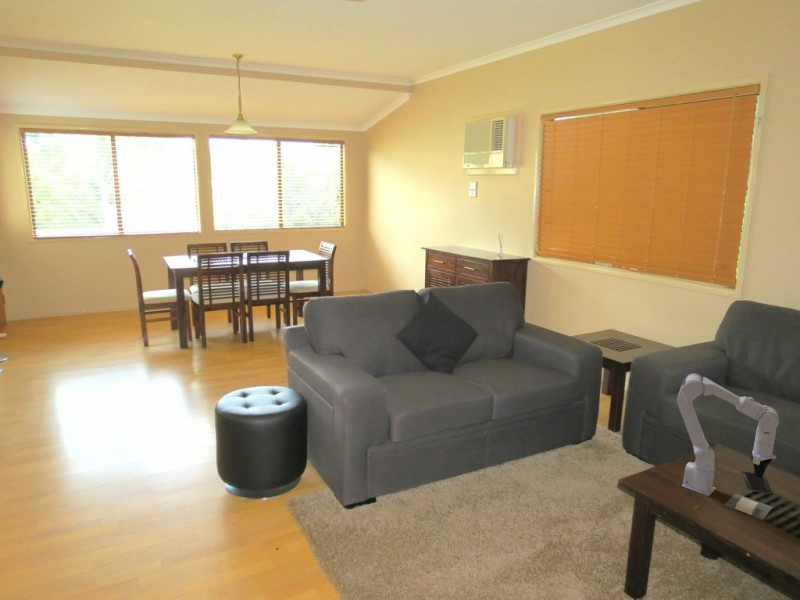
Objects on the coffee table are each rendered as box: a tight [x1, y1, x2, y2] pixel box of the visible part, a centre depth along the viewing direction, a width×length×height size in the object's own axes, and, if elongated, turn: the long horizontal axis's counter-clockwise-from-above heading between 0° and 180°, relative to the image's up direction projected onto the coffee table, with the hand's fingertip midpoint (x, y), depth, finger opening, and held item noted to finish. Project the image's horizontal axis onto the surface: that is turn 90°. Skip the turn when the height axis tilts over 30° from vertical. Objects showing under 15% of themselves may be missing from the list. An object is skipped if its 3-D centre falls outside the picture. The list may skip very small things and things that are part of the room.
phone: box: [741, 470, 772, 495], centre depth 216 cm, size 8×1×15 cm
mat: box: [724, 492, 773, 521], centre depth 200 cm, size 12×12×1 cm
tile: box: [734, 496, 758, 516], centre depth 198 cm, size 5×2×7 cm
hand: (758, 476), depth 201 cm, fingers closed
